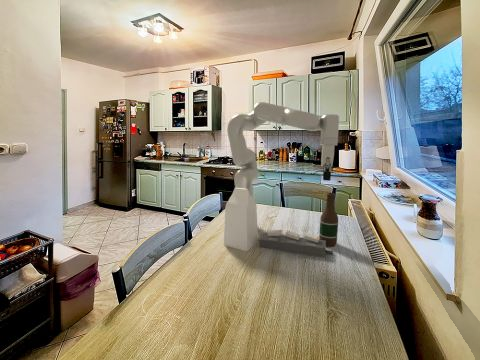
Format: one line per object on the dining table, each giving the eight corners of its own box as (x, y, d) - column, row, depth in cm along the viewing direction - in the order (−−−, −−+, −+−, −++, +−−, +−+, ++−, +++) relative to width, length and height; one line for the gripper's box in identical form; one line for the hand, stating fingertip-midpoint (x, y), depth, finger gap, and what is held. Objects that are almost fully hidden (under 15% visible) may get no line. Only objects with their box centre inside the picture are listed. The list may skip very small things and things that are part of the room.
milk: (223, 245, 115) (222, 189, 110) (235, 236, 125) (235, 185, 120) (247, 250, 109) (247, 192, 104) (258, 241, 119) (258, 187, 114)
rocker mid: (285, 235, 111) (286, 232, 111) (286, 233, 114) (287, 230, 114) (298, 240, 109) (299, 237, 109) (299, 237, 112) (300, 234, 112)
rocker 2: (303, 238, 109) (304, 235, 108) (304, 235, 112) (305, 232, 111) (317, 242, 107) (318, 239, 106) (318, 239, 110) (319, 236, 109)
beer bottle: (338, 248, 111) (341, 195, 107) (319, 246, 113) (322, 194, 108) (335, 241, 119) (338, 191, 114) (318, 239, 120) (320, 190, 116)
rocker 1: (267, 236, 114) (267, 232, 114) (269, 233, 117) (268, 230, 117) (280, 235, 112) (280, 232, 112) (282, 232, 115) (281, 229, 115)
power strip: (258, 247, 112) (259, 238, 111) (263, 240, 120) (263, 232, 119) (332, 258, 102) (333, 249, 101) (332, 250, 109) (333, 241, 109)
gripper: (320, 141, 125) (318, 175, 128) (320, 142, 109) (317, 181, 112) (336, 141, 123) (334, 176, 126) (338, 142, 107) (335, 182, 110)
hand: (326, 178), depth 119 cm, fingers open, 9 cm apart
